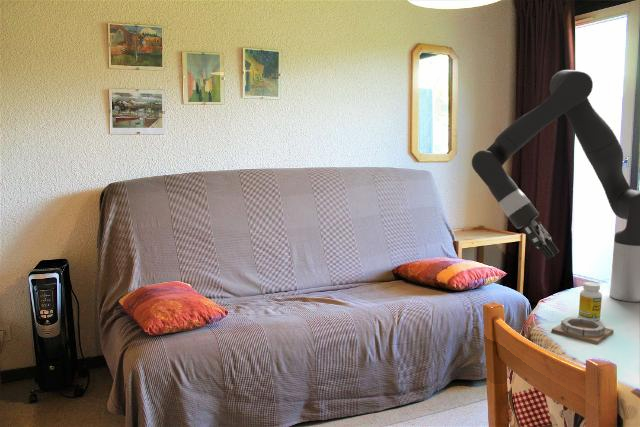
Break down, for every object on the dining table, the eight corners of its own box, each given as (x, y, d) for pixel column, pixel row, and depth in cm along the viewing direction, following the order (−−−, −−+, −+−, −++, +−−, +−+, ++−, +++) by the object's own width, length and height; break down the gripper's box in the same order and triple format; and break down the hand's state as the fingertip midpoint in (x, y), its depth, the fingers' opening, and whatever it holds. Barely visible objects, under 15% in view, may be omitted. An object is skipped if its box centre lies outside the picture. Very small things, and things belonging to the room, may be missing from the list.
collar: (568, 321, 146) (569, 313, 146) (613, 332, 138) (613, 324, 138) (551, 332, 138) (552, 323, 138) (597, 344, 130) (598, 334, 130)
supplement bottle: (585, 313, 153) (588, 280, 152) (604, 318, 149) (607, 284, 147) (574, 316, 150) (576, 283, 149) (593, 322, 146) (595, 287, 144)
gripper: (524, 202, 149) (561, 251, 145) (534, 200, 161) (569, 245, 157) (501, 217, 153) (537, 266, 149) (513, 214, 165) (546, 259, 161)
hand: (553, 255), depth 153 cm, fingers open, 8 cm apart
